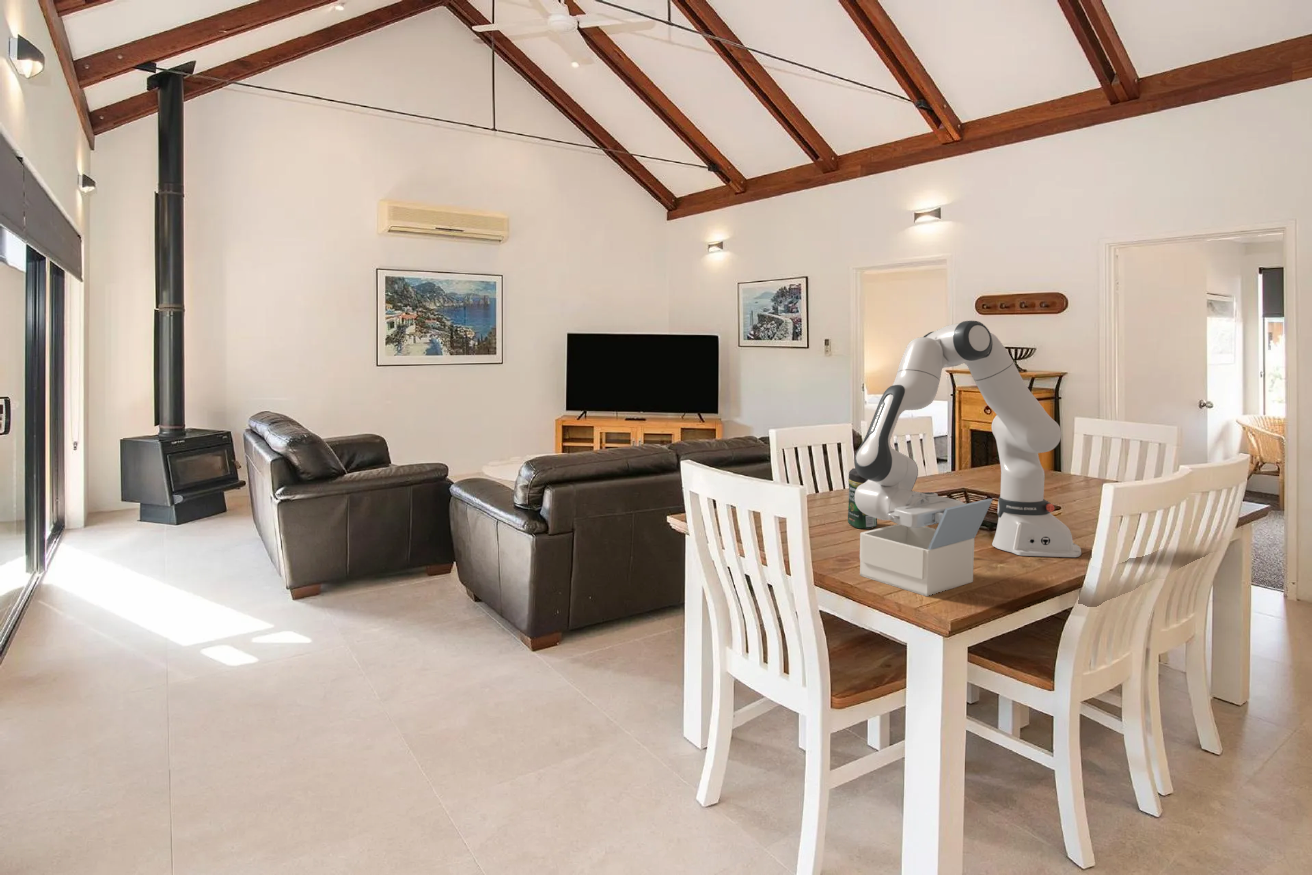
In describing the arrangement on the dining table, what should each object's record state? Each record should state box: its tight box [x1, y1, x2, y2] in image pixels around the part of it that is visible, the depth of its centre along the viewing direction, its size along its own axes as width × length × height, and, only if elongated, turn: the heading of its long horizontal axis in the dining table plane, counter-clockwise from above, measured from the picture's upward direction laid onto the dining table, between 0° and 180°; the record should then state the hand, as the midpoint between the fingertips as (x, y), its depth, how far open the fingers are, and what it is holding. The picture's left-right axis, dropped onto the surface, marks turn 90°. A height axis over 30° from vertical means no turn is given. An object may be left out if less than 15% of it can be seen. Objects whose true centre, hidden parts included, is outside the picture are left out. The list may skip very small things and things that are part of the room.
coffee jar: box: [847, 467, 878, 530], centre depth 246 cm, size 10×8×19 cm
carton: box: [859, 523, 975, 597], centre depth 192 cm, size 21×19×11 cm
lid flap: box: [928, 498, 993, 550], centre depth 181 cm, size 11×17×1 cm
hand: (959, 519), depth 181 cm, fingers closed, pressing on lid flap
